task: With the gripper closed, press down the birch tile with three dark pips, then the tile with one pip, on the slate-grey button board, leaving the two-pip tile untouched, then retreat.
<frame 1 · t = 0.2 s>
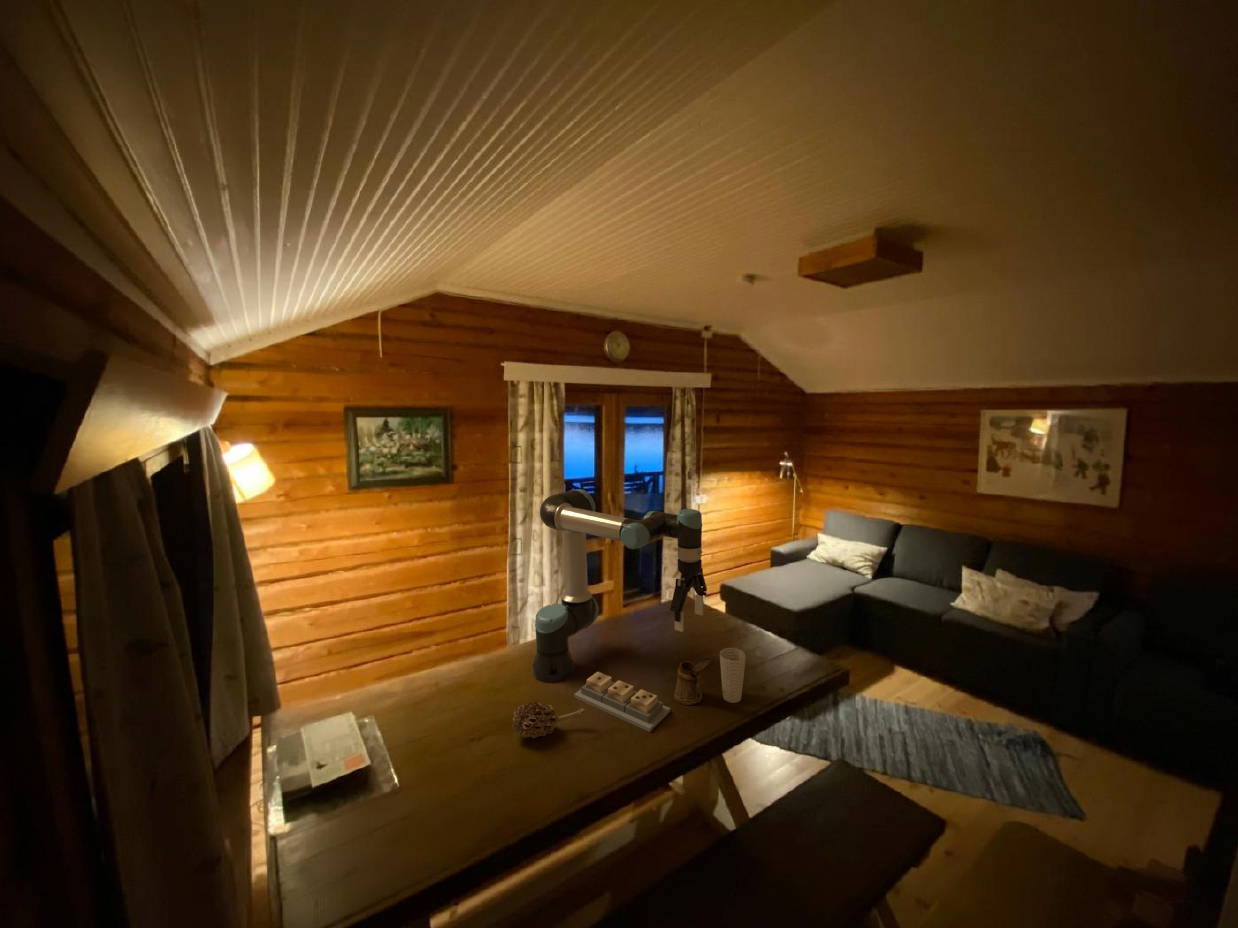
hand: (689, 622, 164), 27 cm above the table, fingers open, 13 cm apart
tile 2: (620, 691, 166), point 5 cm above the table, slide at 0.0 cm
tile 3: (643, 701, 161), point 5 cm above the table, slide at 0.0 cm
pine cone: (549, 732, 154), on the table
wooden mug: (692, 701, 168), on the table
button board: (621, 704, 166), on the table
cup: (731, 698, 169), on the table
tile 1: (599, 682, 171), point 5 cm above the table, slide at 0.0 cm
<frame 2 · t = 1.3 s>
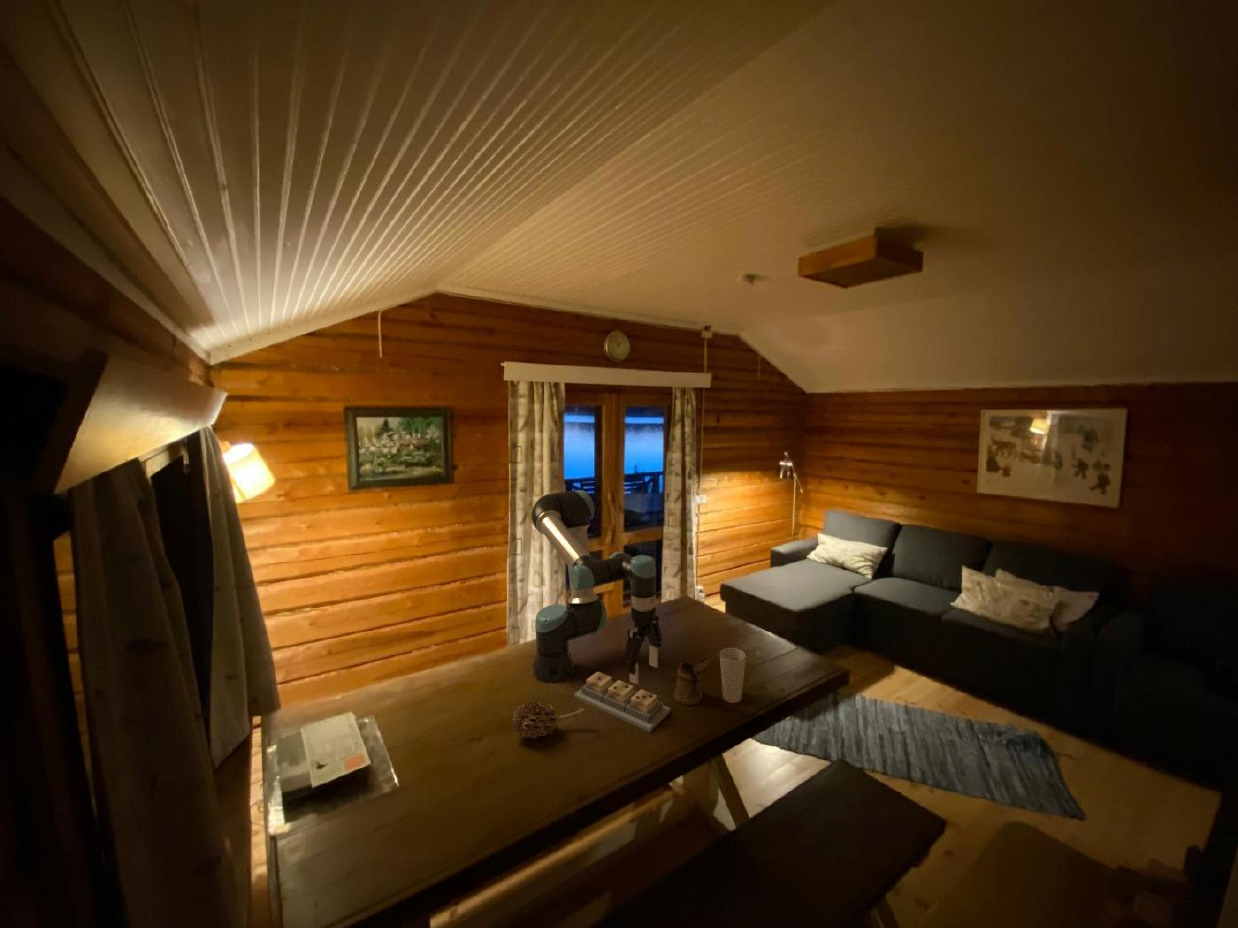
hand: (644, 673, 159), 14 cm above the table, fingers open, 10 cm apart
nothing on the table moved.
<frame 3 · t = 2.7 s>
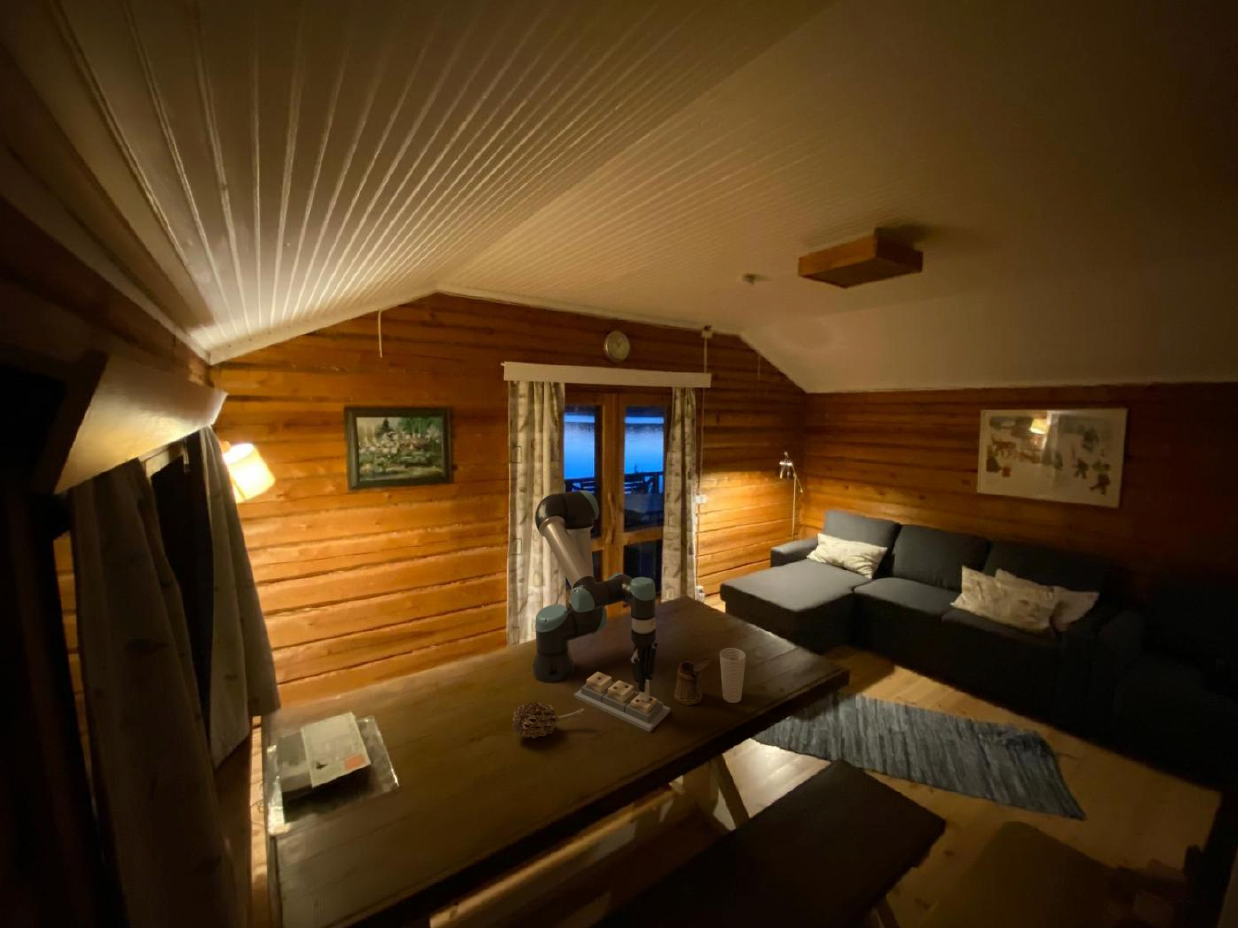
hand: (644, 699, 160), 5 cm above the table, fingers closed
tile 3: (644, 704, 161), point 4 cm above the table, slide at 1.1 cm, touching gripper
everything else where it was.
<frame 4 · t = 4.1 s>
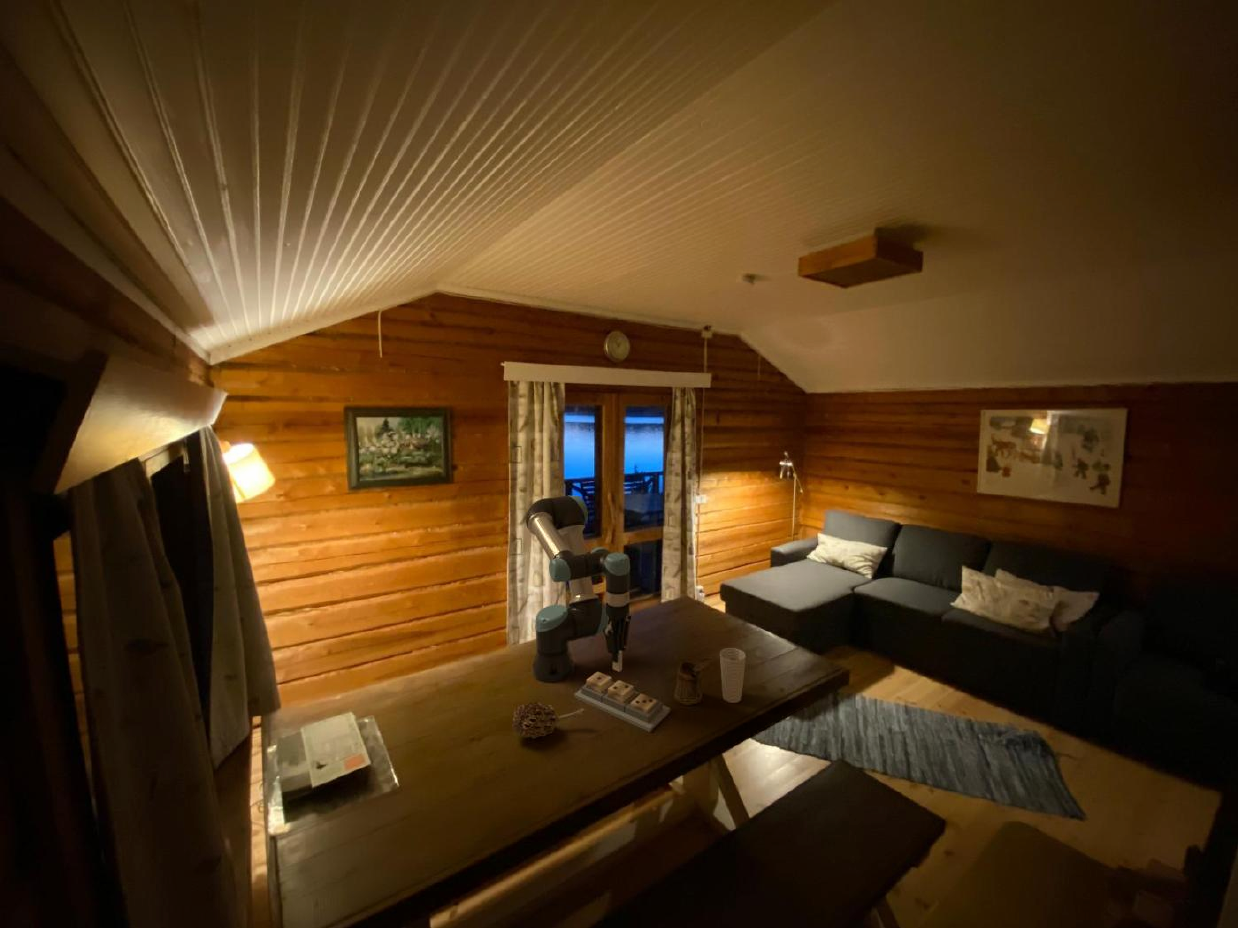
hand: (617, 669, 166), 11 cm above the table, fingers closed
tile 3: (644, 705, 161), point 3 cm above the table, slide at 1.5 cm
everything else where it was.
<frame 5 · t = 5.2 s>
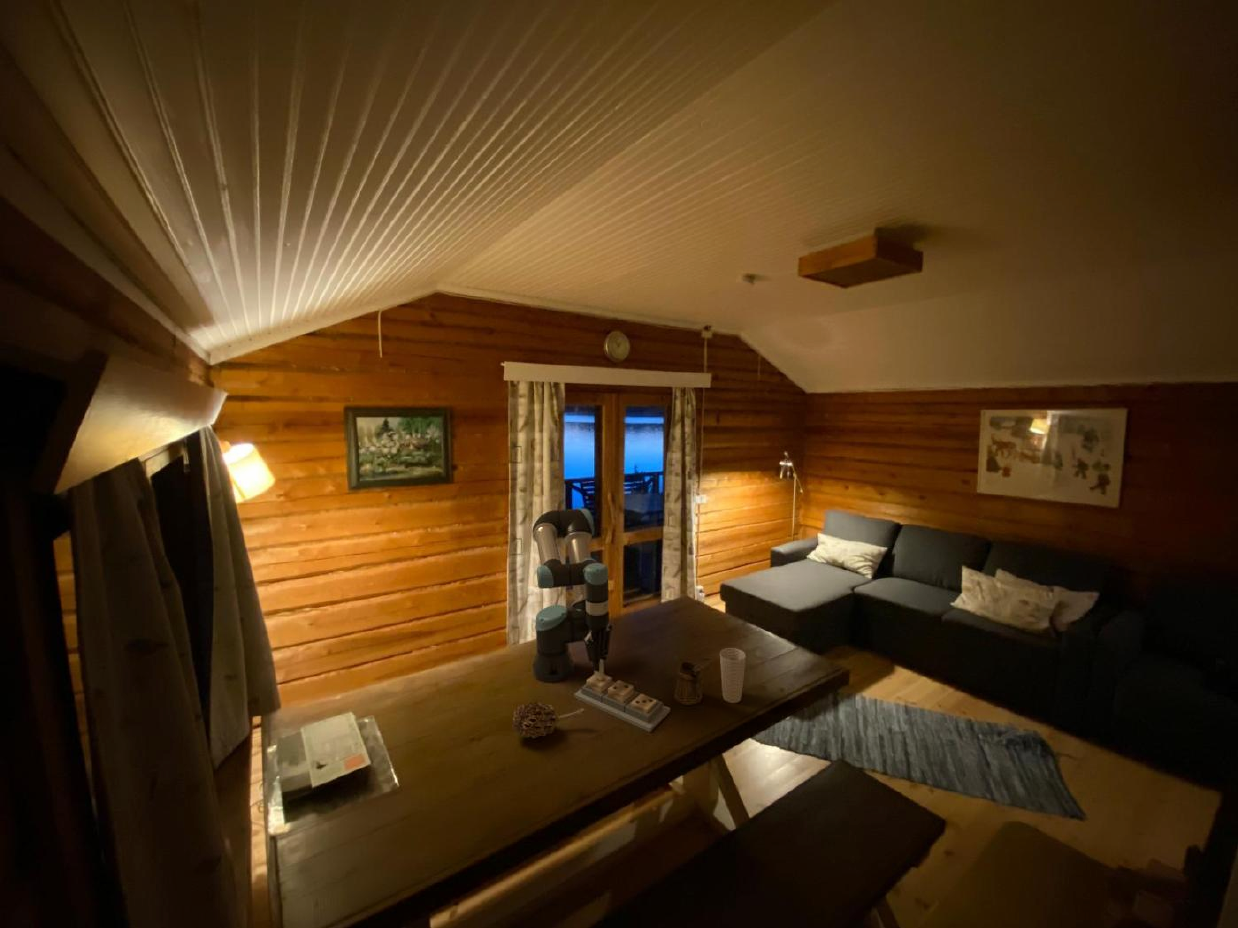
hand: (599, 678, 171), 6 cm above the table, fingers closed
tile 1: (599, 682, 171), point 4 cm above the table, slide at 0.2 cm, touching gripper
everything else where it was.
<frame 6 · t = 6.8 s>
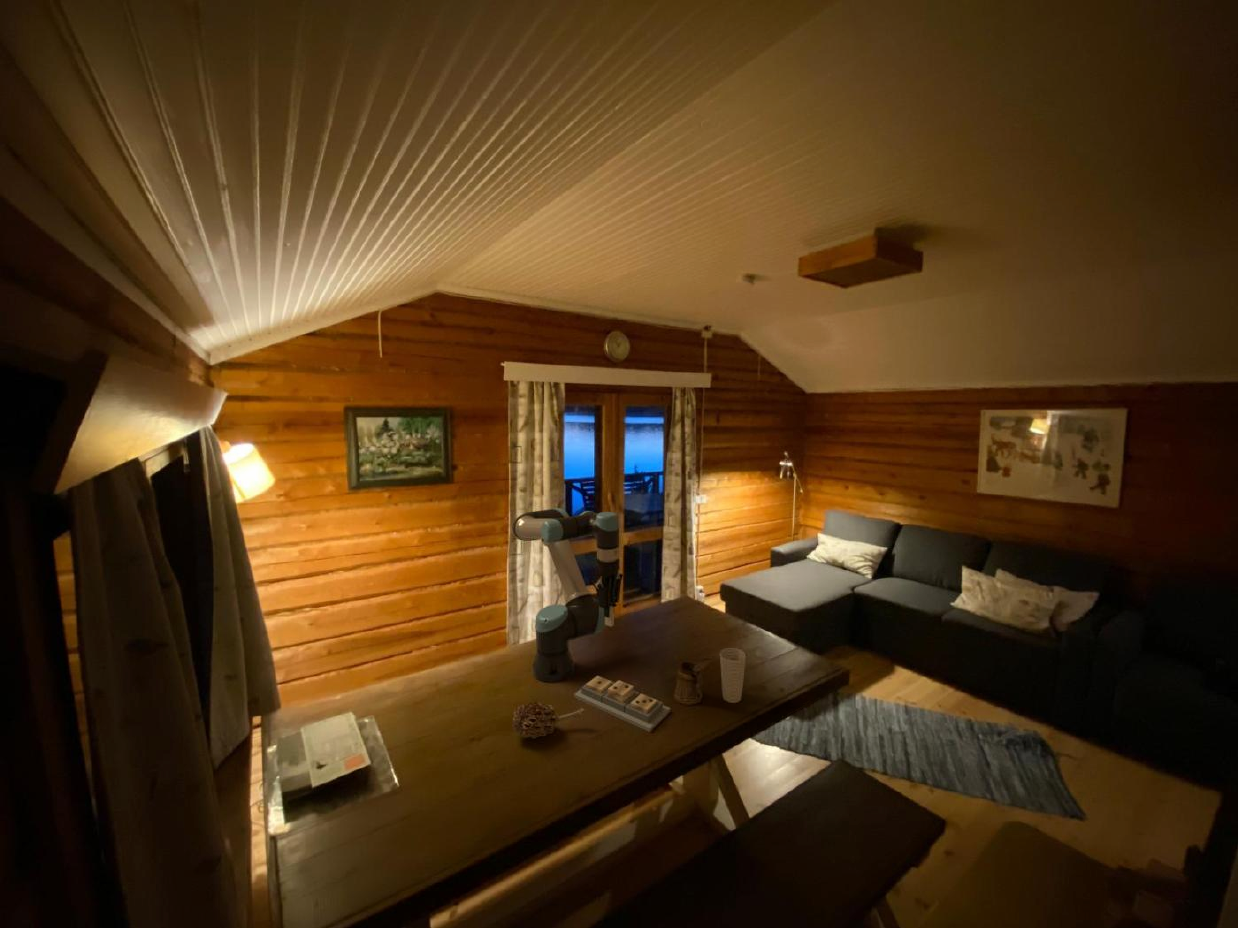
hand: (609, 624, 175), 22 cm above the table, fingers closed
tile 1: (599, 686, 171), point 3 cm above the table, slide at 1.5 cm
everything else where it was.
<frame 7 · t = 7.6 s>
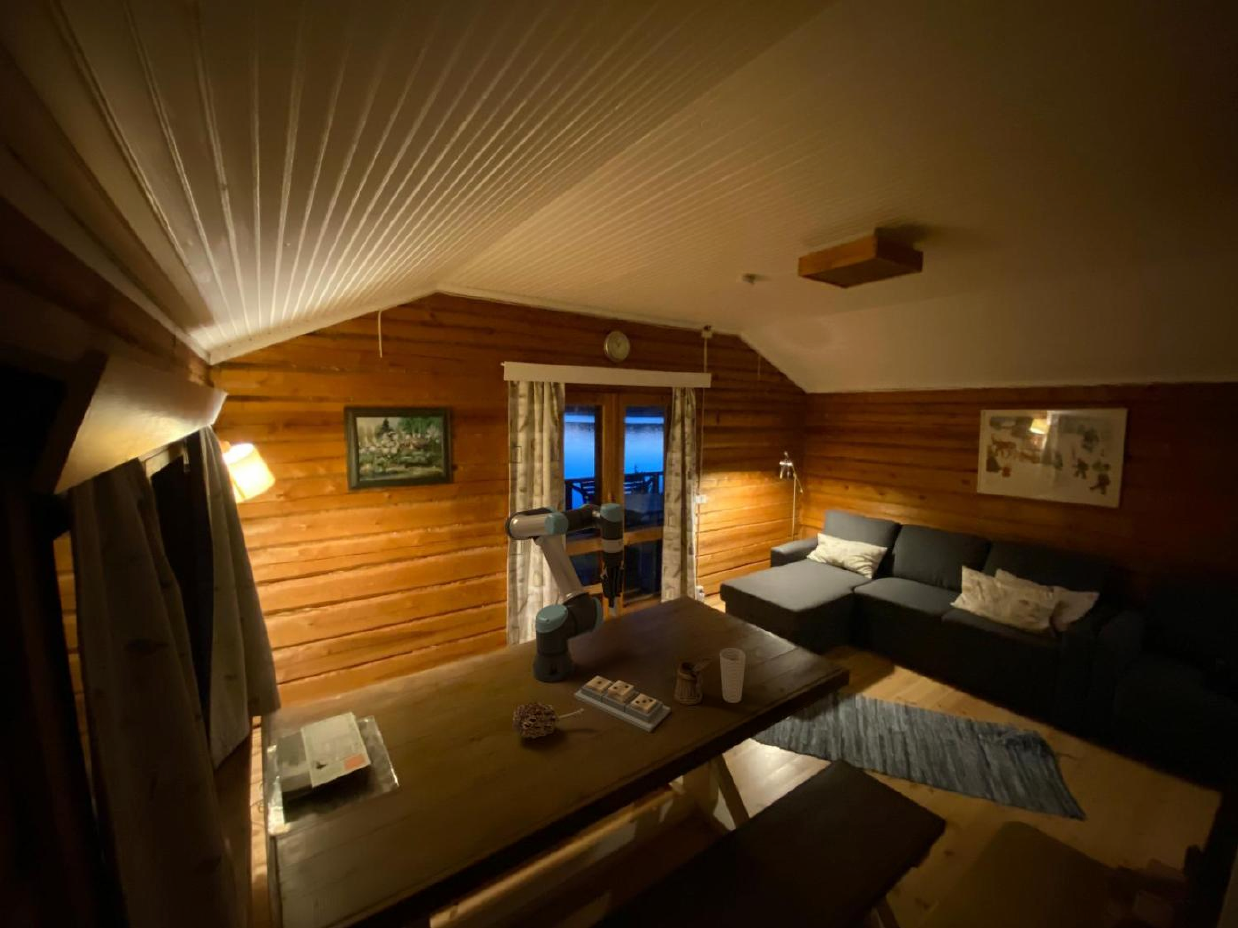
hand: (613, 614, 177), 24 cm above the table, fingers closed
nothing on the table moved.
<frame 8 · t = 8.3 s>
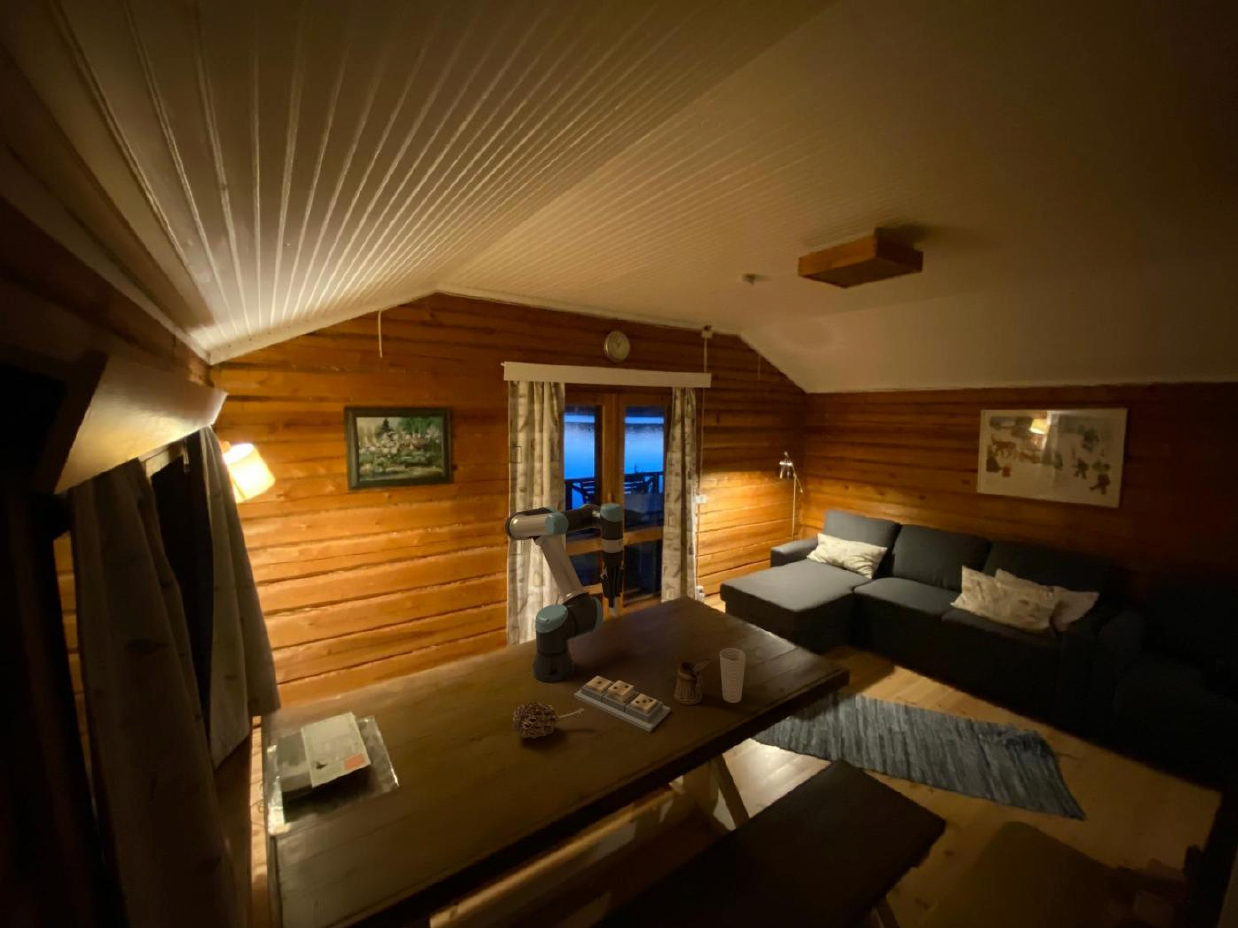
hand: (613, 614, 177), 24 cm above the table, fingers closed
nothing on the table moved.
at the end: tile 3 slide at 1.5 cm; tile 1 slide at 1.5 cm; tile 2 slide at 0.0 cm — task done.
